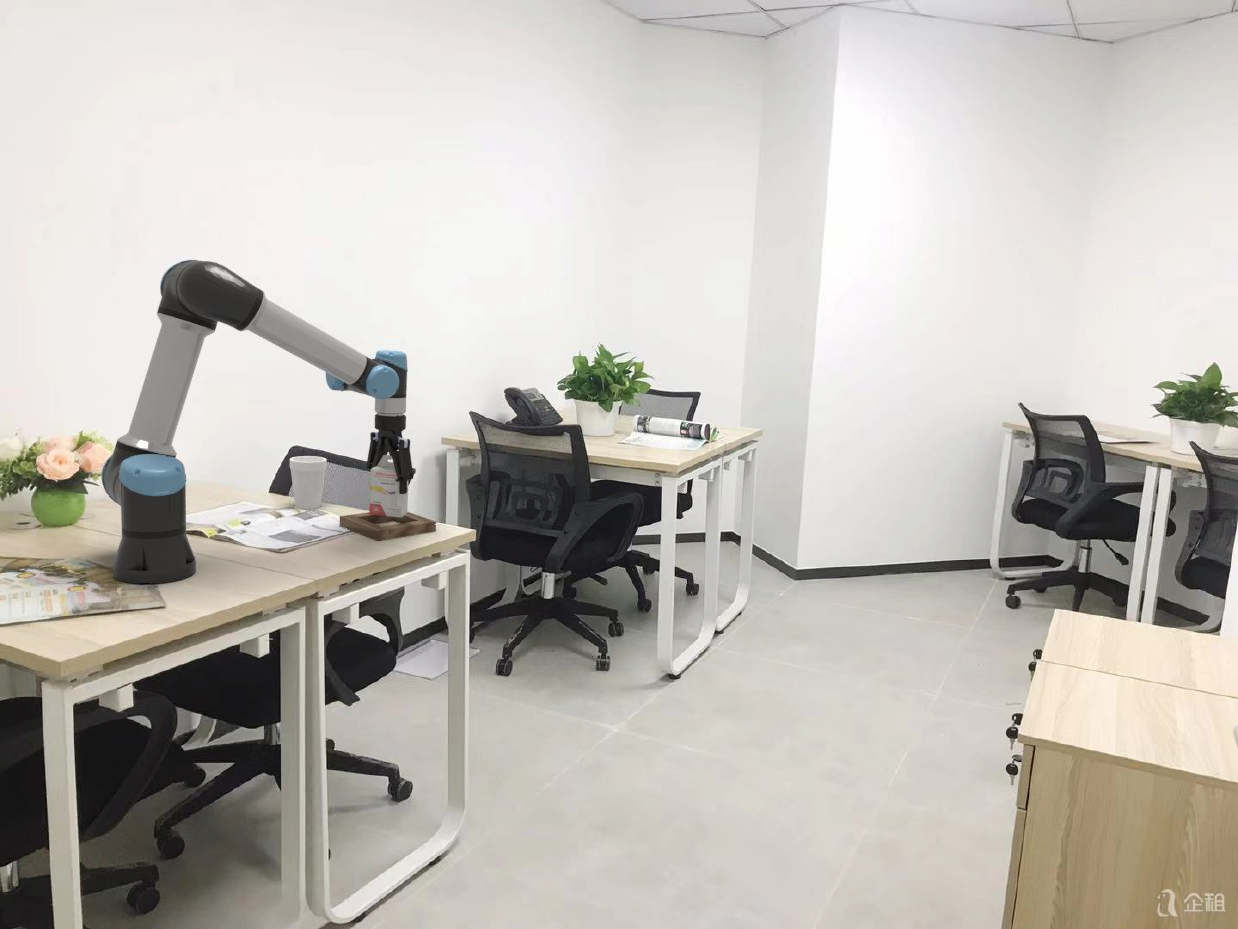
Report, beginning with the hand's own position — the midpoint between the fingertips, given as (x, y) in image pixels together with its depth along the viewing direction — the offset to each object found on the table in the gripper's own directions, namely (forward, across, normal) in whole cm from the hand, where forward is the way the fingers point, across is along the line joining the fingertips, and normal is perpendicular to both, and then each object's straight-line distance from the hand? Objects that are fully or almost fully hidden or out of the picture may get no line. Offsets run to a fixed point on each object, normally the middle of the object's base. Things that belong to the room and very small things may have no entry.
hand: (388, 502), depth 235 cm
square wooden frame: (+7, 0, 0) cm, 7 cm away
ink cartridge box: (+3, 0, 0) cm, 3 cm away
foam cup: (+7, +31, +5) cm, 32 cm away
